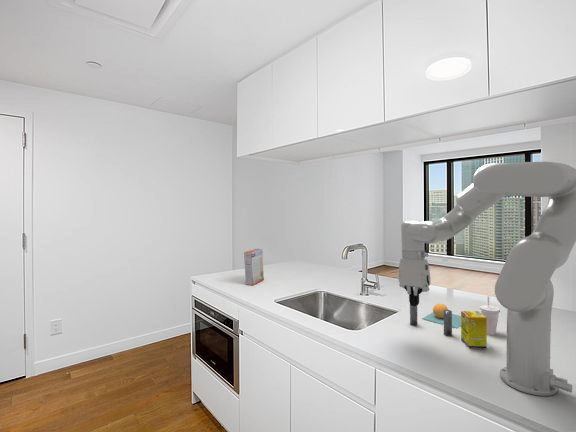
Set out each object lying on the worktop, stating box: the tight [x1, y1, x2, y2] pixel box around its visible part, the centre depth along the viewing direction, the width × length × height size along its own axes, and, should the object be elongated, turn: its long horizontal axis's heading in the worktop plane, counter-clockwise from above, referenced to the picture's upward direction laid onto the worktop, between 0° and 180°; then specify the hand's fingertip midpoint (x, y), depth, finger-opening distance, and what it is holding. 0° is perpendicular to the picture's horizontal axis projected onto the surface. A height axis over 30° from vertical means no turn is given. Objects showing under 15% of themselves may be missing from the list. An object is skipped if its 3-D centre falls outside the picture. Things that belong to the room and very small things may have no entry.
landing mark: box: [421, 311, 461, 329], centre depth 132 cm, size 14×14×1 cm
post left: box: [409, 305, 418, 327], centre depth 127 cm, size 3×3×9 cm
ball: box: [432, 303, 449, 318], centre depth 133 cm, size 6×6×6 cm
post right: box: [443, 309, 453, 337], centre depth 117 cm, size 3×3×9 cm
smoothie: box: [479, 296, 501, 336], centre depth 117 cm, size 6×6×14 cm
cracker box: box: [243, 248, 265, 286], centre depth 200 cm, size 14×6×21 cm, turn 155°
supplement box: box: [460, 310, 488, 349], centre depth 108 cm, size 6×6×11 cm
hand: (414, 305), depth 113 cm, fingers closed
